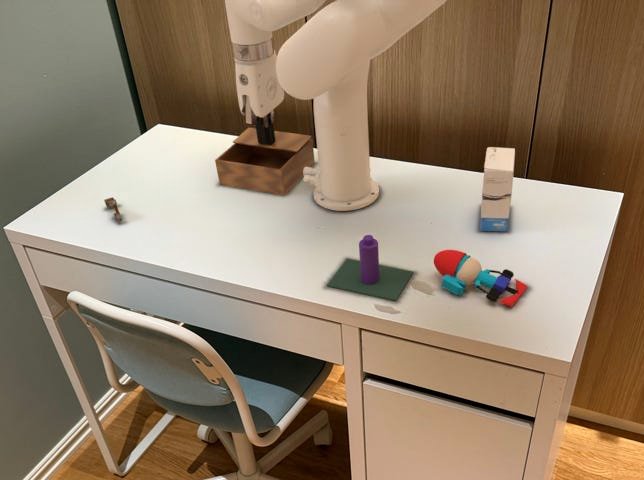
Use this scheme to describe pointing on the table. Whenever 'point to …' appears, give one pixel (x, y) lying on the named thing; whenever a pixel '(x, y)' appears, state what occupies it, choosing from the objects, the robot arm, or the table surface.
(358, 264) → the drawing mat
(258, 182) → the brown wooden open box
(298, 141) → the wooden box lid
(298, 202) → the table surface
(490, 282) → the toy figure
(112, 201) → the wooden post with brackets
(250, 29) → the robot arm
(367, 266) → the purple bottle
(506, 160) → the ink box
